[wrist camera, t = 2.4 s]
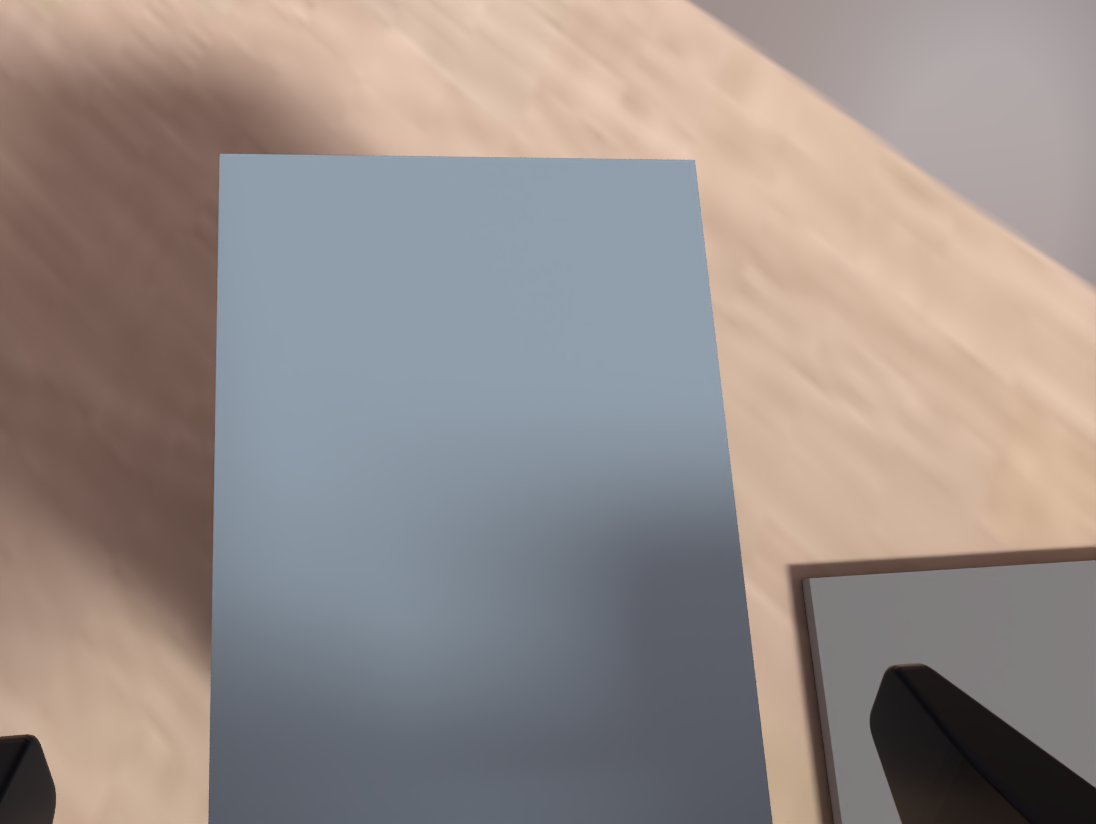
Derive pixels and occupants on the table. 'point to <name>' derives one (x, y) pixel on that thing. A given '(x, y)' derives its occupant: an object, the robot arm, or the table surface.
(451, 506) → the grey rectangular block
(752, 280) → the table surface
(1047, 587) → the pad
